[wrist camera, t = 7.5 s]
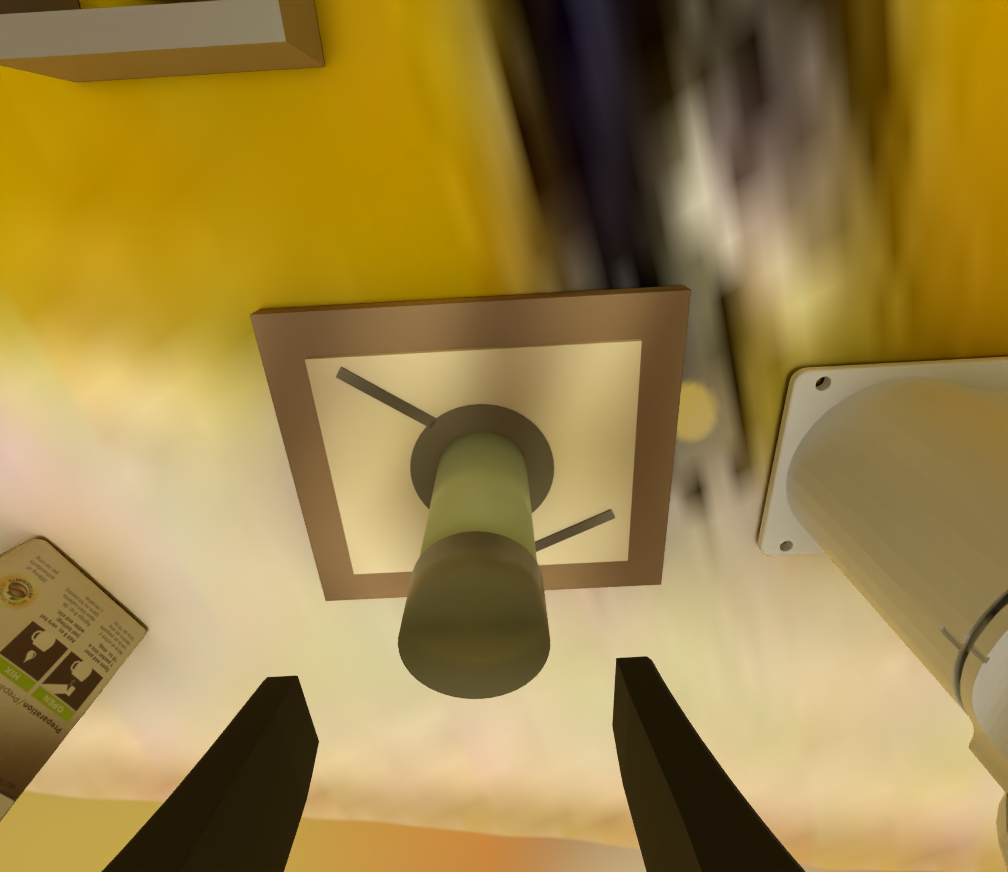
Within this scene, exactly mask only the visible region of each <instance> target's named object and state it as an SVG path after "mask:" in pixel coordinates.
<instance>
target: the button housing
mask: <svg viewBox="0 0 1008 872" xmlns="http://www.w3.org/2000/svg"><path fill="white" fill-rule="evenodd" d="M0 65H1V66H6V67H10V68H15V69H19V70H23V71H28V72H32V73H37V74H41V75H45V76H50V77H54V78H59V79H63V80H67V81H72V82H87V81H103V80H119V79H135V78H151V77H168V76H184V75H200V74H216V73H232V72H248V71H264V70H281V69H297V68H313V67H325V63H324V57H323V51H322V46H321V40H320V34H319V28H318V22H317V16H316V10H315V4H314V0H218V1H202V2H187V3H171V4H155V5H140V6H124V7H108V8H92V9H80V7H79V4H78V0H0Z"/></svg>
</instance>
